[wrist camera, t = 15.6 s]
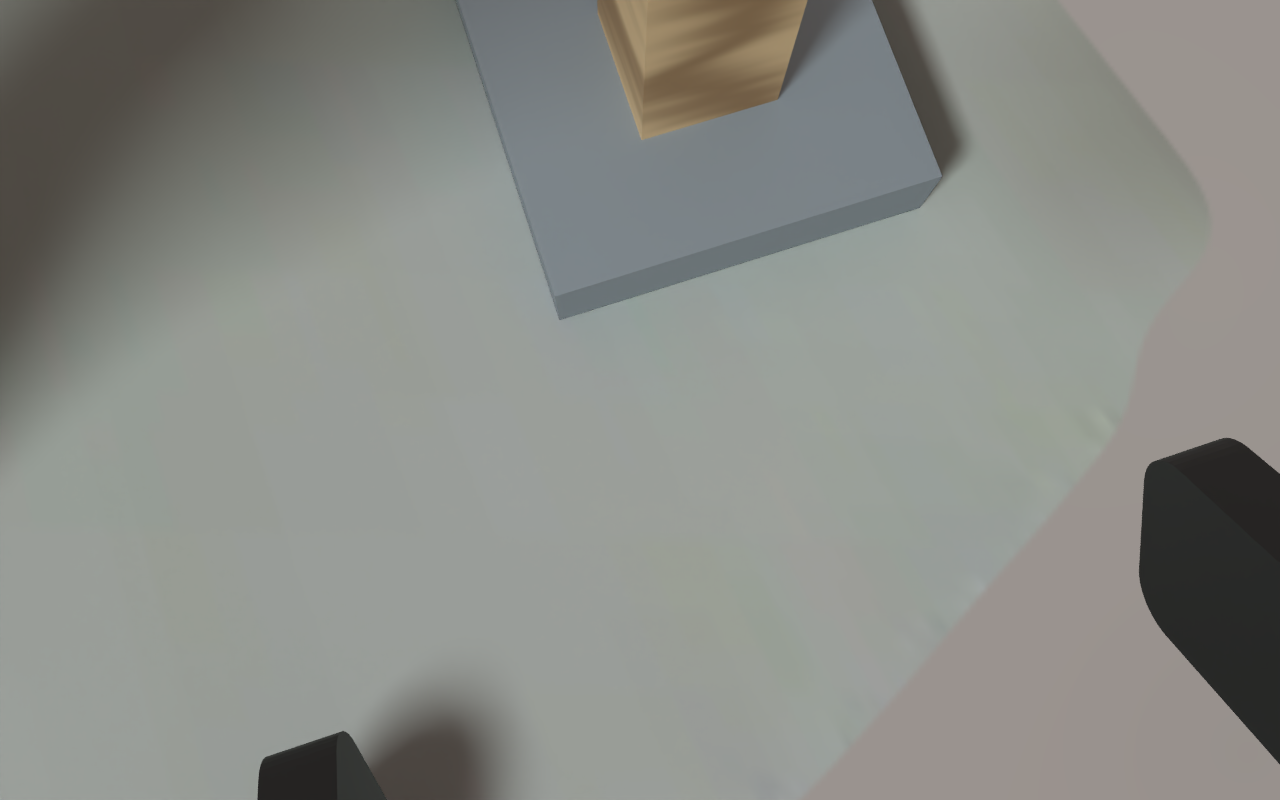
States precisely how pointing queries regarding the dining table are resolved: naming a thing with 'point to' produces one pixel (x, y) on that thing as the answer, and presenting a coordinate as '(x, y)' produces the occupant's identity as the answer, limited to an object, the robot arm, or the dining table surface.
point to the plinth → (692, 150)
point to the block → (698, 56)
